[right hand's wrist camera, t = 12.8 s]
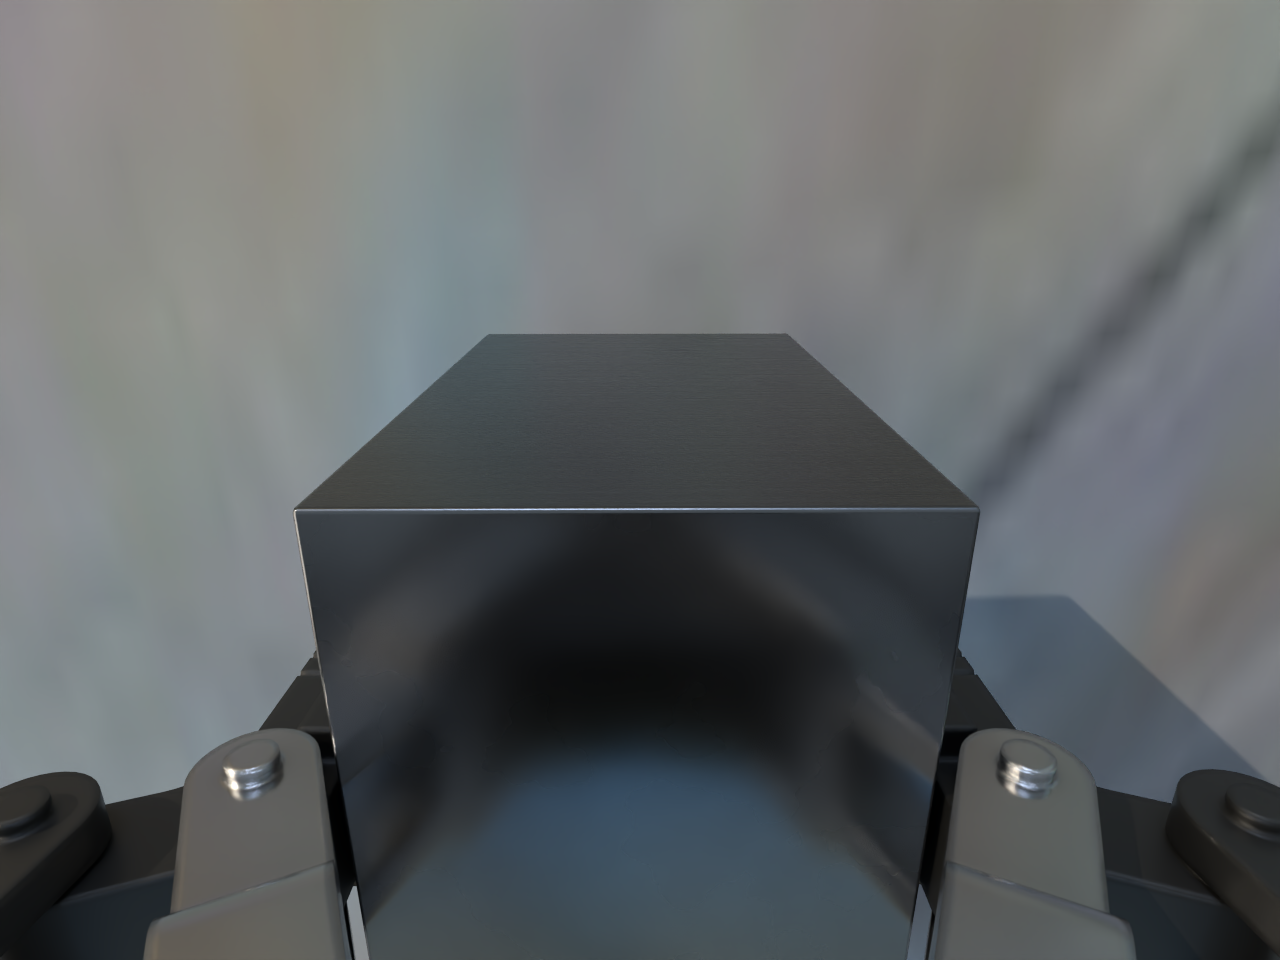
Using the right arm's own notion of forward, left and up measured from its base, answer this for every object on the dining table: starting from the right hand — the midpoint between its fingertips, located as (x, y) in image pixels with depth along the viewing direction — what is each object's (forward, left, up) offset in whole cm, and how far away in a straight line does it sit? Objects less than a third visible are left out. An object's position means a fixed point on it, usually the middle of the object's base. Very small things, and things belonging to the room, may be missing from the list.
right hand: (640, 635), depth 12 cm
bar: (+2, +8, -5) cm, 9 cm away
